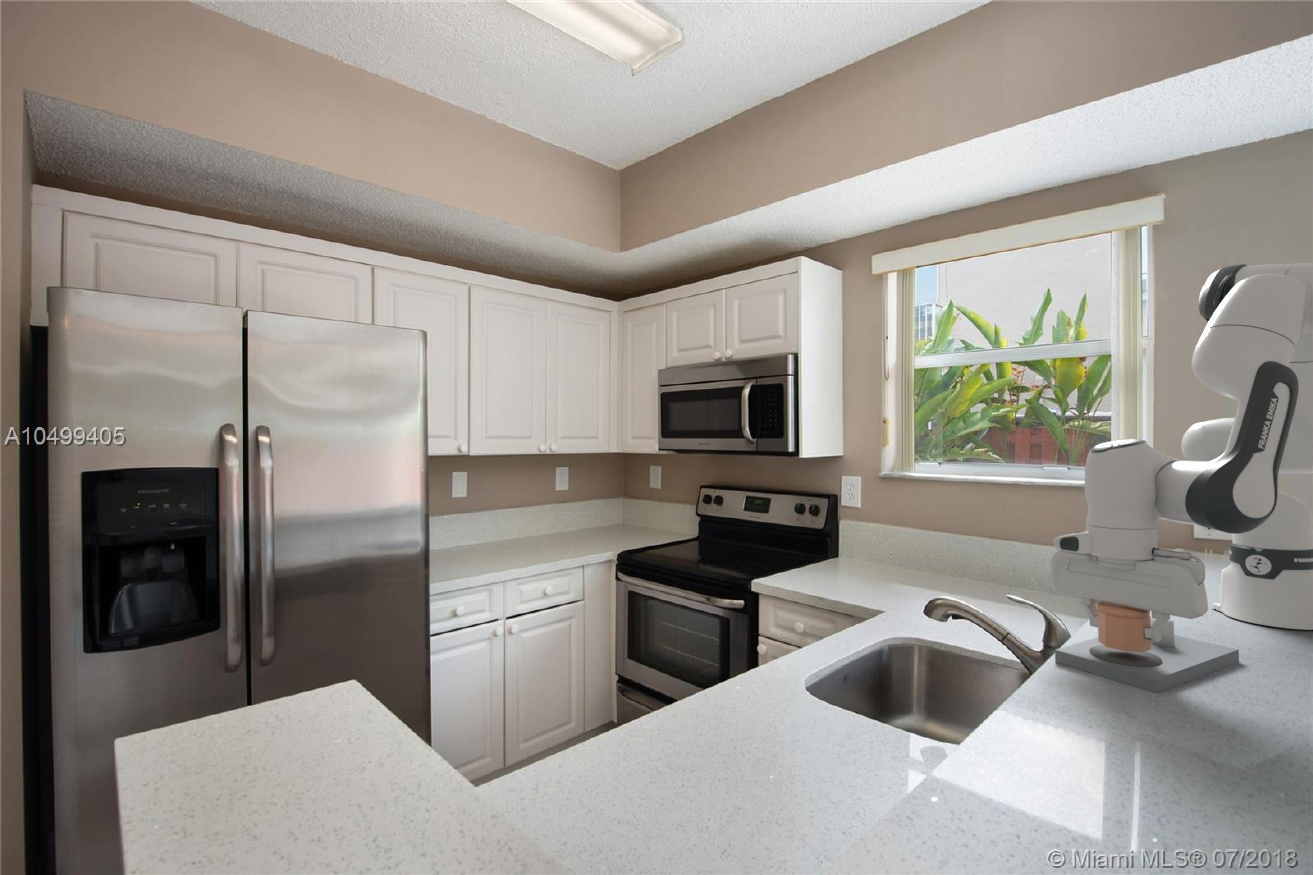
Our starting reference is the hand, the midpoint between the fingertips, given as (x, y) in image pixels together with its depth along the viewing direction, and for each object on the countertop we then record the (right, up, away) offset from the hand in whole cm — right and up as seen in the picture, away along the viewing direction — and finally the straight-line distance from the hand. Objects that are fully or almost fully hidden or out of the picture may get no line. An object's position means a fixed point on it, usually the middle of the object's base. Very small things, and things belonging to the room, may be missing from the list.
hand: (1124, 633), depth 95 cm
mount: (+5, -6, +3) cm, 8 cm away
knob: (0, -2, 0) cm, 2 cm away
